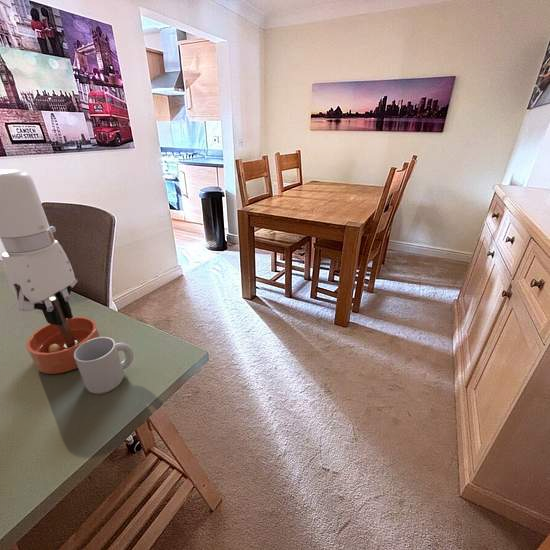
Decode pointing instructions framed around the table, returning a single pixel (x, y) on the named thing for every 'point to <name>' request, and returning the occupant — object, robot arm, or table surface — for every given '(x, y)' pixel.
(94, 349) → the cup
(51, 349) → the bead
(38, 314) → the table surface
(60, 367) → the bowl
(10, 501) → the table surface
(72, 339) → the stick
